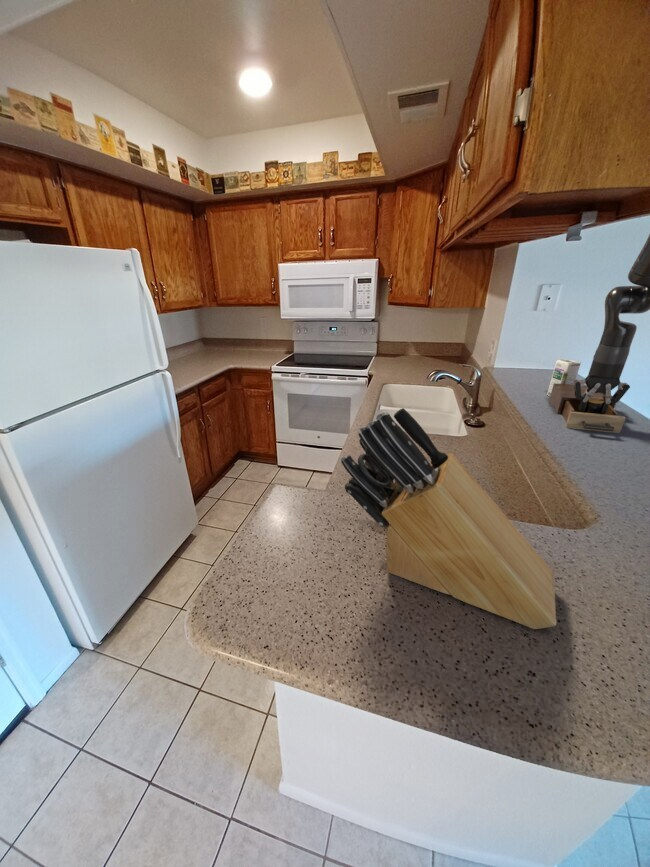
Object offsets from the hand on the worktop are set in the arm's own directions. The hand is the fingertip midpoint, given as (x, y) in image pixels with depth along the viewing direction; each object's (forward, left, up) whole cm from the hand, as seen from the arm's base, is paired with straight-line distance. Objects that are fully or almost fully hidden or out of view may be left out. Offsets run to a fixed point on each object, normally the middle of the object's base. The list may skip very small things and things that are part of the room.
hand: (591, 412), depth 104 cm
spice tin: (0, 0, -3) cm, 3 cm away
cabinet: (0, -13, -5) cm, 14 cm away
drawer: (0, +1, -4) cm, 4 cm away
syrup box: (+3, -28, -5) cm, 29 cm away
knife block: (+39, +73, -5) cm, 83 cm away
